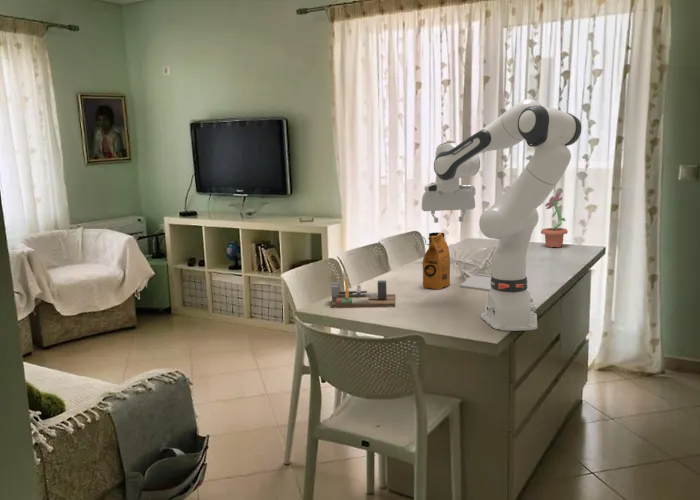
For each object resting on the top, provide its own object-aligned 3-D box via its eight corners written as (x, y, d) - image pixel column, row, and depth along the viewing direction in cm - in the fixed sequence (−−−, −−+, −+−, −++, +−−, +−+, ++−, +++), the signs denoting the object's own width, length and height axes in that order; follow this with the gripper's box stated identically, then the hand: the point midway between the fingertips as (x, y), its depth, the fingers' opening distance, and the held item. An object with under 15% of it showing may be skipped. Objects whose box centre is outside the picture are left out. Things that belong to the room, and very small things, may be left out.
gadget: (492, 293, 243) (492, 284, 243) (459, 288, 253) (459, 279, 252) (516, 281, 260) (517, 273, 260) (485, 277, 270) (485, 269, 269)
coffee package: (418, 288, 253) (417, 236, 249) (432, 281, 263) (431, 231, 259) (440, 290, 248) (439, 237, 244) (453, 284, 258) (453, 233, 254)
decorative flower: (550, 243, 343) (552, 190, 337) (573, 246, 332) (574, 191, 327) (535, 247, 333) (536, 192, 328) (558, 250, 323) (559, 193, 317)
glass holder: (445, 265, 295) (445, 234, 293) (416, 265, 298) (416, 235, 295) (446, 261, 304) (445, 232, 301) (417, 261, 306) (416, 232, 304)
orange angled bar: (348, 298, 228) (347, 278, 227) (345, 298, 228) (344, 278, 227) (348, 296, 231) (348, 276, 229) (346, 296, 231) (345, 276, 229)
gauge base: (395, 306, 227) (394, 288, 225) (331, 307, 229) (330, 289, 227) (395, 297, 240) (395, 279, 239) (335, 298, 242) (334, 280, 241)
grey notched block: (386, 301, 229) (385, 284, 228) (351, 301, 230) (350, 285, 229) (386, 297, 235) (386, 280, 234) (352, 297, 236) (352, 281, 235)
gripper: (474, 184, 233) (474, 219, 236) (420, 186, 235) (421, 222, 237) (476, 185, 227) (477, 221, 229) (421, 187, 229) (422, 224, 231)
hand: (448, 221), depth 233 cm, fingers open, 8 cm apart
